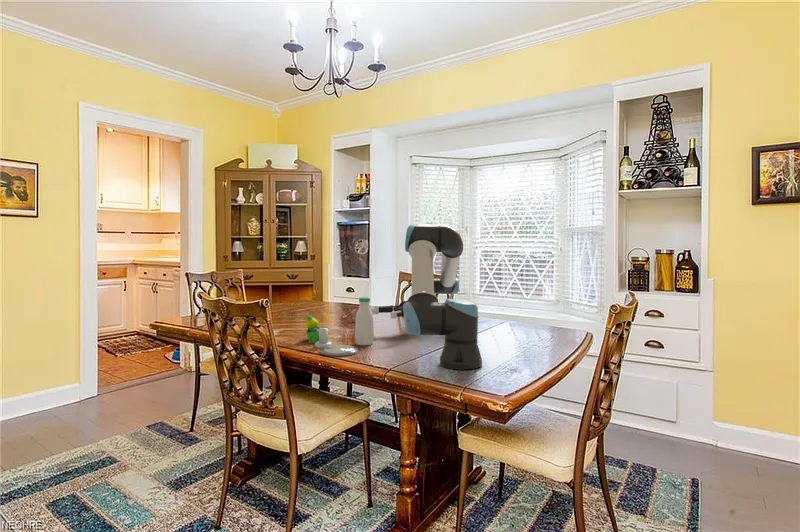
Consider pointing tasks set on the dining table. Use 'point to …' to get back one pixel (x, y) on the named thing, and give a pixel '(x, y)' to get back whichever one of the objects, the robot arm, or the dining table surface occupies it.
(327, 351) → the grey plate
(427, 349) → the dining table surface
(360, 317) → the milk bottle
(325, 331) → the small pipe fitting
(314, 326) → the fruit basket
